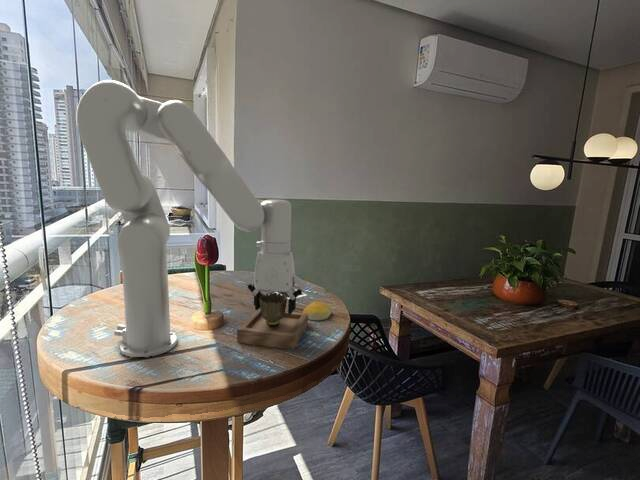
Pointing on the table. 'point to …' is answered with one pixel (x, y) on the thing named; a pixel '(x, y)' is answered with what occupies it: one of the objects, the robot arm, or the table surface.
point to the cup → (273, 308)
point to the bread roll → (317, 311)
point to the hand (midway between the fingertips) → (274, 310)
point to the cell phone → (289, 297)
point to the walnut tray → (273, 330)
